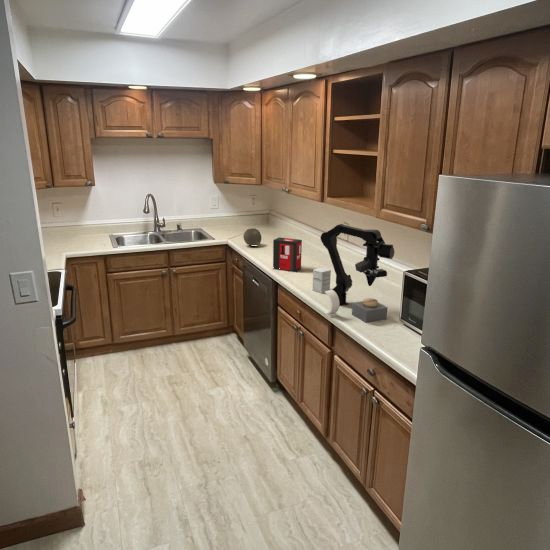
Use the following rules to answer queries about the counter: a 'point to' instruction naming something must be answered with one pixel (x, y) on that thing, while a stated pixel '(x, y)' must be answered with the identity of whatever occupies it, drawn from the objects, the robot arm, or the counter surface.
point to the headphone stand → (332, 303)
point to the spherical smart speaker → (252, 236)
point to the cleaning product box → (287, 254)
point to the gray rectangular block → (369, 312)
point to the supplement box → (321, 280)
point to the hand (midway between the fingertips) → (369, 285)
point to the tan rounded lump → (370, 302)
